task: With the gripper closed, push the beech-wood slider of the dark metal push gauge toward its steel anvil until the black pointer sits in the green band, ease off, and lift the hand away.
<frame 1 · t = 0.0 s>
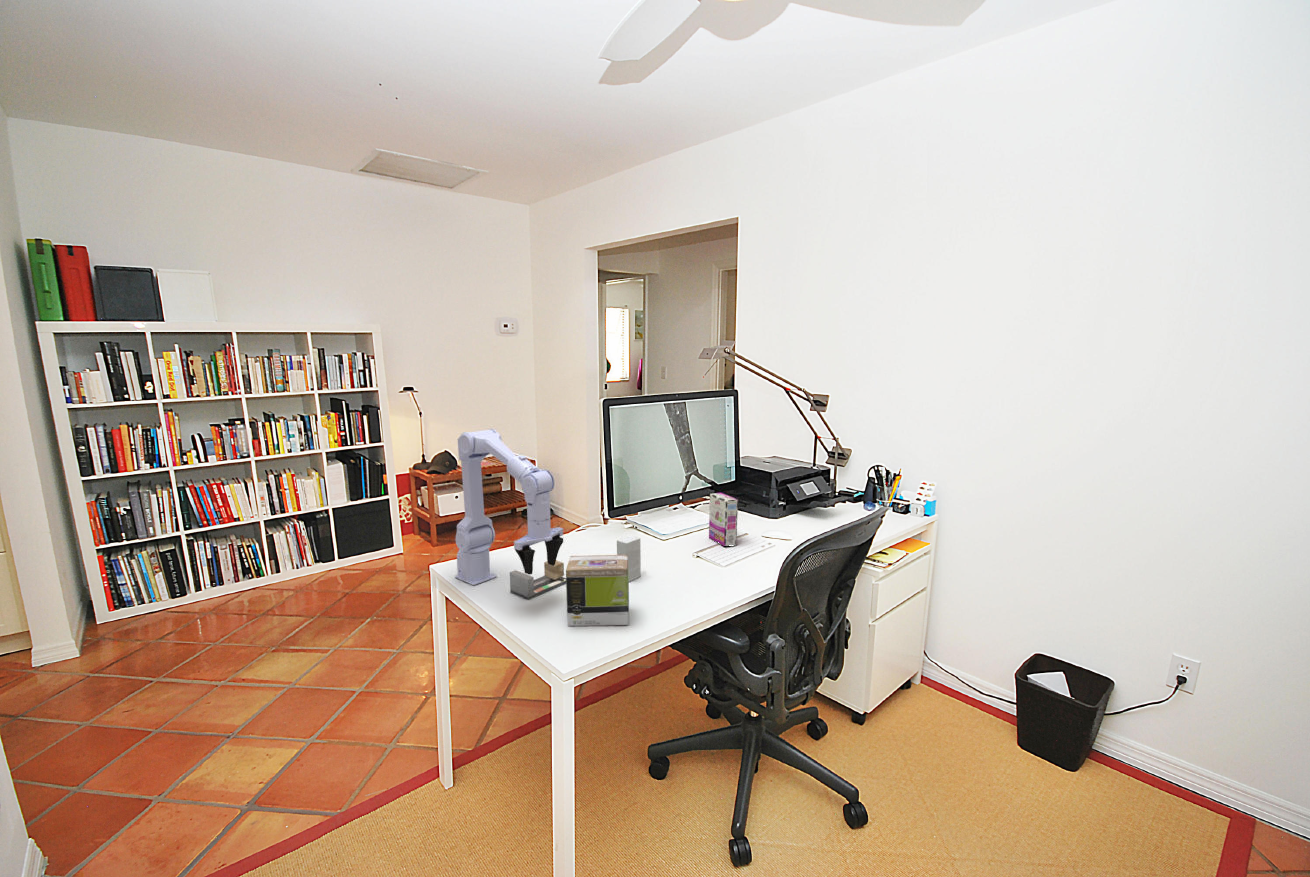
hand: (540, 568, 147), 10 cm above the table, tool pointing down, fingers open, 7 cm apart
skincare box: (628, 578, 166), on the table
gauge bed: (540, 587, 159), on the table
candy bar box: (722, 542, 197), on the table
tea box: (598, 617, 142), on the table
gauge slider: (556, 570, 162), point 3 cm above the table, slide at 0.0 cm
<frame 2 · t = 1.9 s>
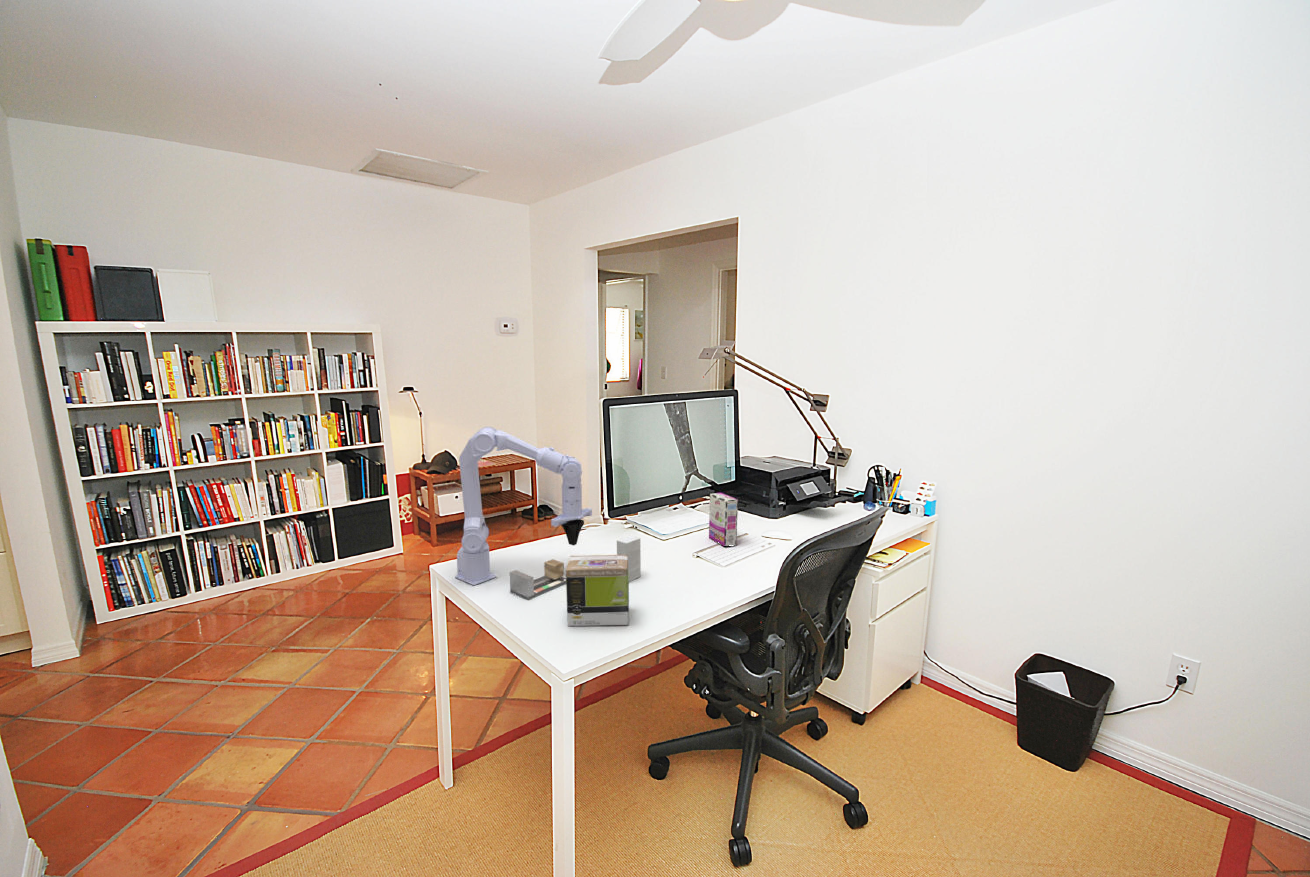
hand: (572, 544, 168), 9 cm above the table, tool pointing down, fingers closed
nothing on the table moved.
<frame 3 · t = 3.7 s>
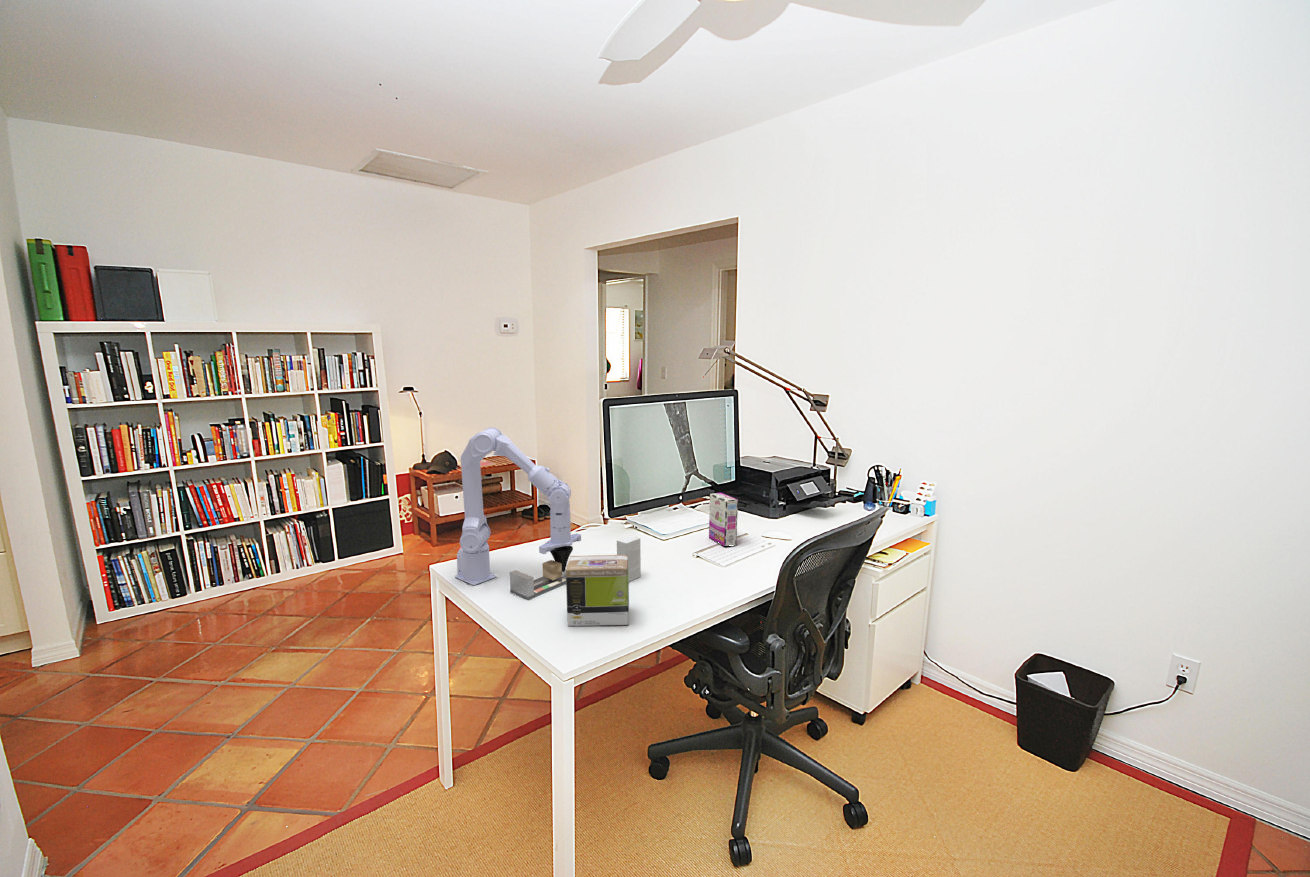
hand: (561, 570, 165), 2 cm above the table, tool pointing down, fingers closed
gauge slider: (554, 571, 162), point 3 cm above the table, slide at 0.6 cm, touching gripper
everything else where it was.
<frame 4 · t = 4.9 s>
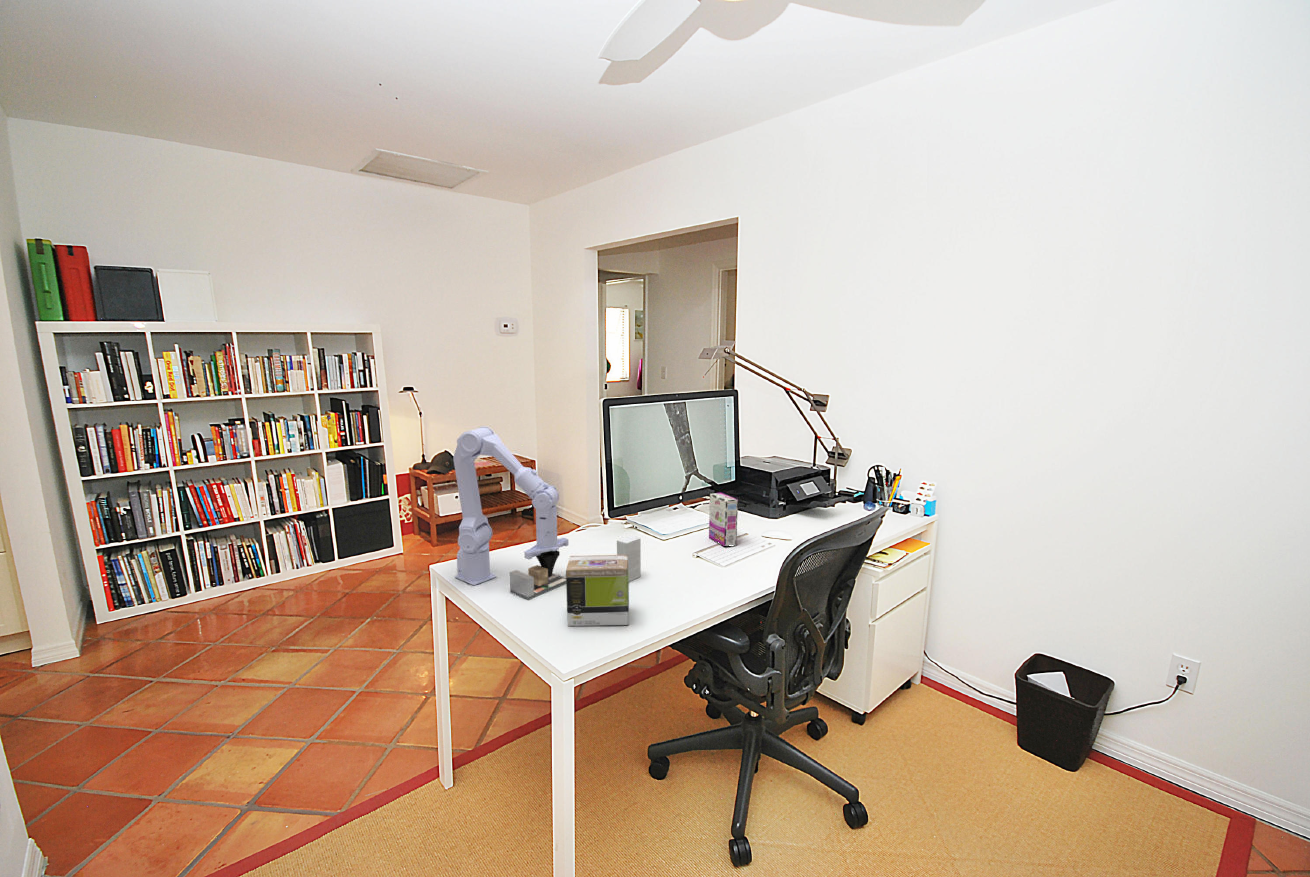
hand: (547, 575, 161), 2 cm above the table, tool pointing down, fingers closed
gauge slider: (540, 576, 158), point 3 cm above the table, slide at 5.8 cm, touching gripper
everything else where it was.
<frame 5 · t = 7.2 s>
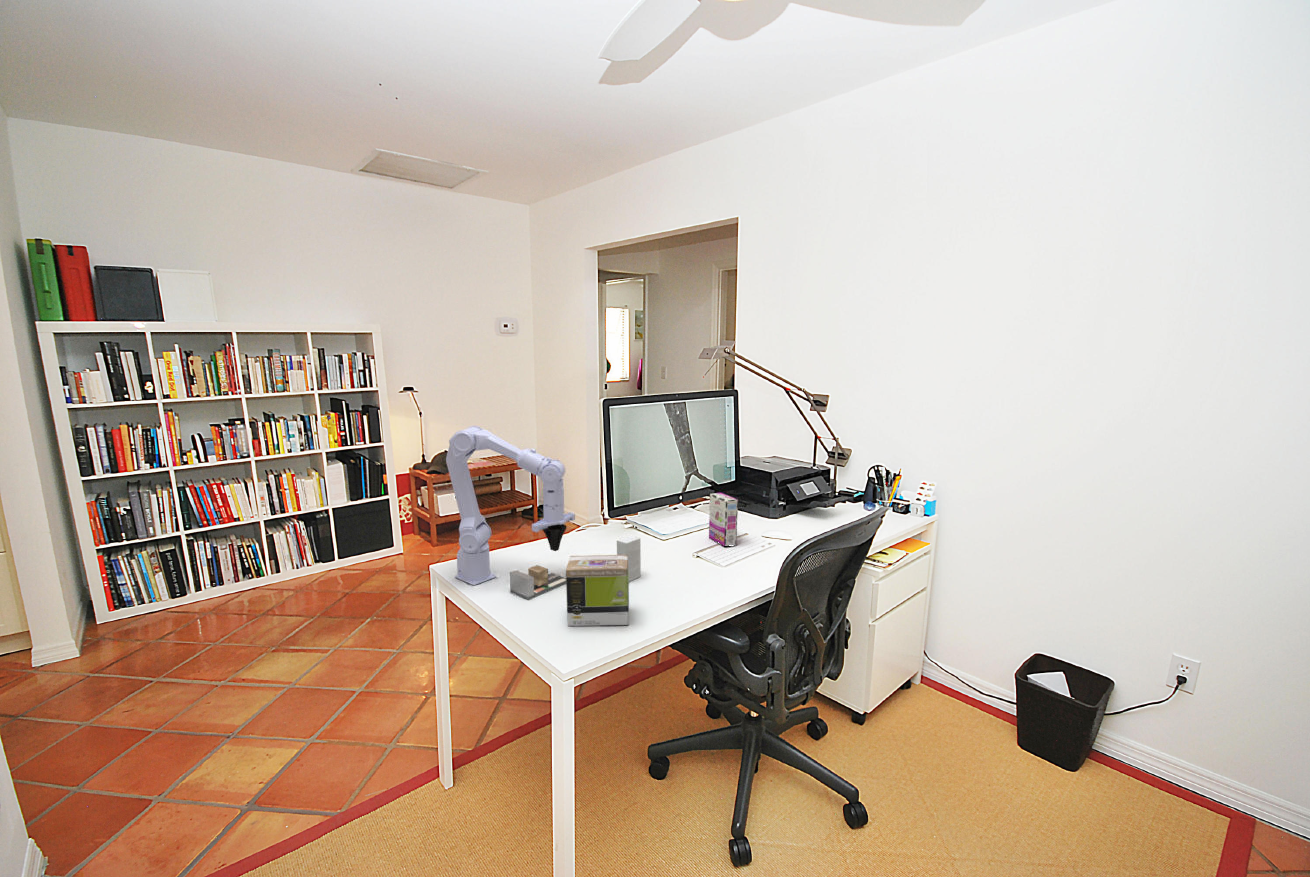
hand: (554, 549, 162), 9 cm above the table, tool pointing down, fingers closed
gauge slider: (540, 576, 158), point 4 cm above the table, slide at 5.8 cm
everything else where it was.
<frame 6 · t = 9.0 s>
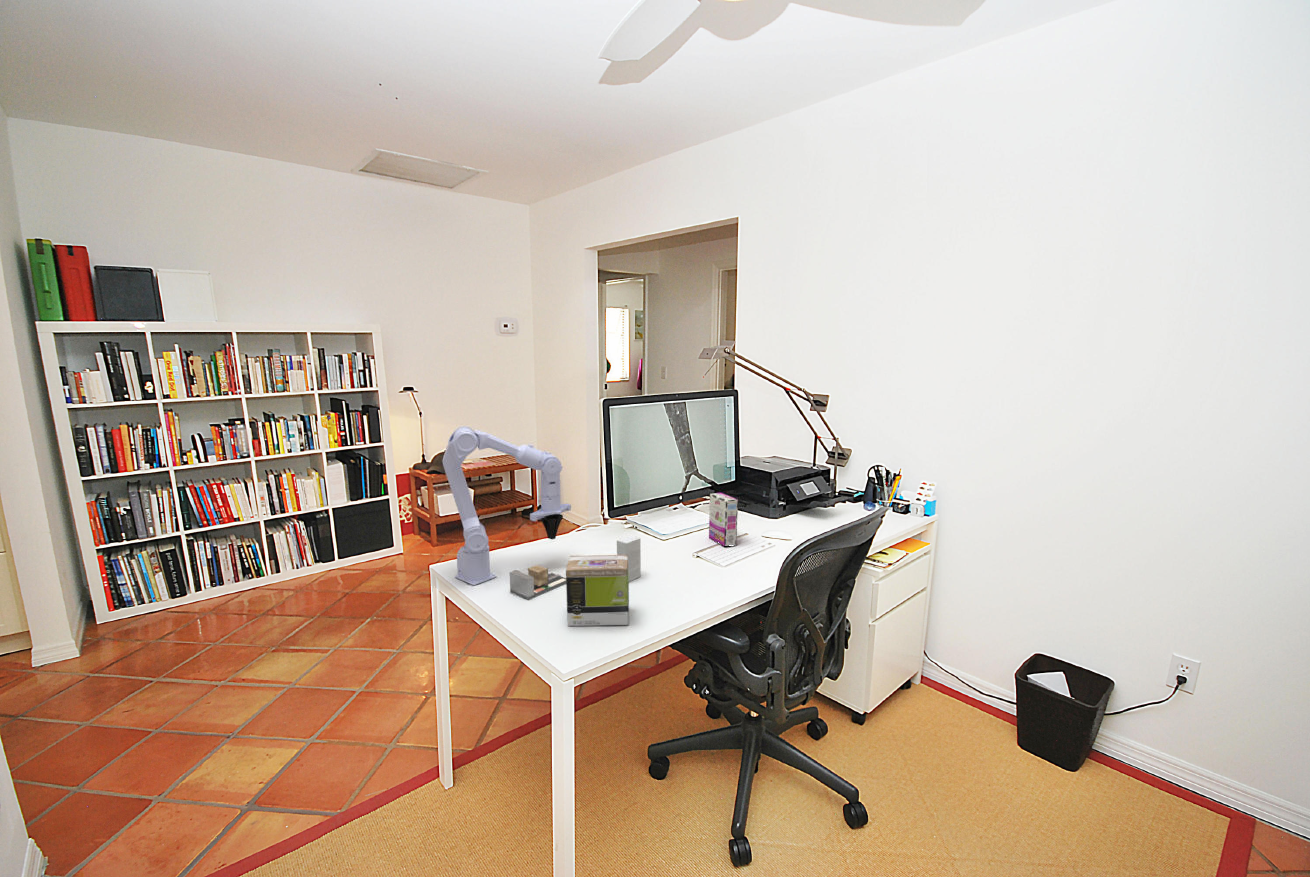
hand: (551, 538, 172), 9 cm above the table, tool pointing down, fingers closed
nothing on the table moved.
at the end: gauge slider slide at 5.8 cm; skincare box moved 0.2 cm from its start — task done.
